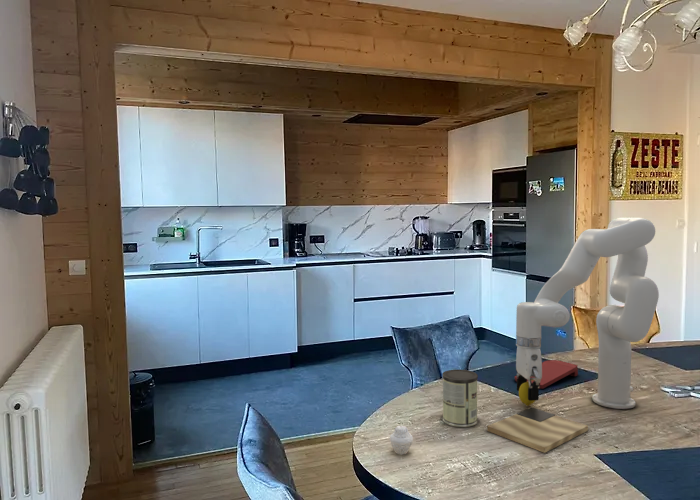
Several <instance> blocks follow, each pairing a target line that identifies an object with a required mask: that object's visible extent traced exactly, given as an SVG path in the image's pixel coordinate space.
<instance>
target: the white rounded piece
mask: <svg viewBox="0 0 700 500" xmlns="http://www.w3.org/2000/svg"><path fill="white" fill-rule="evenodd" d="M413 442H414V437H413V435H412V434H411V433H410V432H409V428H408V427H407V426H405V425H397V426H395V428H394V430H393V432H392V433H391V434H390V435H389V443H390V445H391V447H392V450H393V451H394V452H395V454H397V455H406V454H408V452H409V450H410V448H411V447H412V445H413Z"/></svg>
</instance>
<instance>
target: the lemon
mask: <svg viewBox="0 0 700 500" xmlns="http://www.w3.org/2000/svg"><path fill="white" fill-rule="evenodd" d="M528 387H529V383H528V381H527V382H525V383H523V384H522V385H521V386H520V388H519V391H518V399H519V400H520V402H521V403H522V404H524V405H525V406H526V407H530V405H533V404H534V403H535V402H536V400H531V401H530V400H528Z"/></svg>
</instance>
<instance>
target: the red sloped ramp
mask: <svg viewBox="0 0 700 500" xmlns="http://www.w3.org/2000/svg"><path fill="white" fill-rule="evenodd" d="M578 368H579V367H578V364H575V363H571V362H566V361H563V360H557V359H549V360H544V361H542V379H541V381H540V385H539V389H545V388H547V387H549V386H551V385H552V384H554V383H556V382H558V381H560V380H561V379H564V378H565V377H567V376H572V377H577V376H578V375H579V369H578ZM530 378H535V377H530ZM517 379H518V378H517V374H516V375H515V376H514V381H515V382H516V383H517ZM527 381H528V379H527ZM533 381H535V380H532V381H531V382H532V383H533Z"/></svg>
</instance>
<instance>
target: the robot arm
mask: <svg viewBox="0 0 700 500" xmlns="http://www.w3.org/2000/svg"><path fill="white" fill-rule="evenodd" d="M655 236H656V226H655V225H654V222H652V221H651V220H649V219H647V218H644V217H629V216H626V217H624V216H622V217H621V216H620V217H616V218H613V219H612V220H611V221H609V223H608V225H607V228H605V229H603V228H588V229H585V230H584V231H582V232H581V233H580V235H579V236H578V238H577V239H576V241H575V243H574V245H573V246H572V248H571V250H570V252H569V253H568V255H567V257H566V259H565V261H564V263H563V264H562V265H561V267H560V268H559V270H558V271H556V272H555V273H554V274H553V275H552V276H551V277H550V278H549V279H548V280H547V281H546V282H545V283H544V285H543V286H542V287H541V289H540V290H539V292H538V294H537V296H536V297H535V299H534V301H523V302H519V303H518V304H517V305H516V314H515V315H516V317H515V318H516V319H515V320H516V321H515V322H516V323H515V324H516V325H515V326H516V328H515V346H516V347H517V348H516V357H515V371H516V375H517V378H518V379H517V382H516V391H518V392H519V388H520V386H521V385H522V384H523V383H525V382H527V379H528V383H529V387H528V400H530V401H531V400H535V401H539V400H540V398H539V397H540V396H539V395H540V388H539V385H540V381H541V379H542V362H543V360H542V358H543V357H542V352H541V348H542V327H550V328H562V327H564V326H565V325H567V324H568V323H569V321H570V318H571V314H570V311H569V310H568V308H567V307H566V306H565V305H563V304H561V303H559V302H560V301H561V300H562V298H563V297H564V295H565V294H567V292H568V291H570V290H571V289H574V288H577V287H579V286H581V285H583V284H584V283H586V282H587V281H588V280H589V278H590V276H591V274H592V273H593V271H594V269H595V267H596V265H597V263H598V262H599V260H600V259H601V258H611V257H615V256H617V261H616V265H615V268H614V272H613V275H612V279H611V282H610V284H609V285H610V286H609V294H610V296H611V298H612V299H613V300H615V301H616V302H619V303H621V304H624V305H623V306H620V305H615V304H610V305H606V306H603V307H602V308H601V309H600V310H598V312H597V315H596V321H595V323H596V331H597V336H598V337H597V338H598V354H597V355H598V356H597V358H598V359H597V361H598V363H597V393H594V394H592V396H591V400H592V401H593V403H595V404H597V405H598V406H602V407H605V408H609V409H615V410H617V409H618V410H628V409H632V408H635V407H636V403H637V402H636V400H635V399H634V398H632V397H631V393H632V392H634V391H635V390H634V387H633V386H632V383H631V382H632V381H631V380H632V350H633V349H632V343H637V342H640V341H642V340H644V338H646V336H647V335H648V333H649V331H650V329H651V325H652V323H653V319H654V316H655V311H656V309H657V306H658V302H659V297H660V294H659V288H658V285H657V284H656V282H655V280H653V279H651V278H649V277H647V276H645V275H646V270H647V266H648V261H649V253H648V251H647V247H646V245H648V244H650V243H651V242H652V241H653V239H654V237H655ZM530 377H535V378H530ZM532 380H535V381H533V383H532V382H531V381H532Z"/></svg>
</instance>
